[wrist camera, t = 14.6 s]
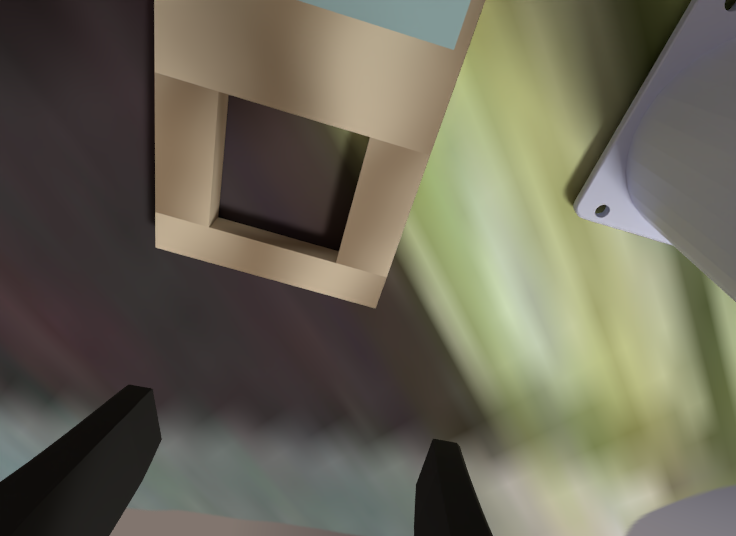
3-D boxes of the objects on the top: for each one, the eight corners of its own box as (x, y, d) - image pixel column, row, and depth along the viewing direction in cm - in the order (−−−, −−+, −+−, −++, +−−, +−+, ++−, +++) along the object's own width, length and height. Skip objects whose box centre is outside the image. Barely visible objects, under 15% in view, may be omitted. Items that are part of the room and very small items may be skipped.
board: (547, -190, 11) (558, -206, 10) (377, 295, 20) (375, 308, 19) (173, -323, 10) (152, -352, 10) (167, 236, 19) (155, 247, 18)
